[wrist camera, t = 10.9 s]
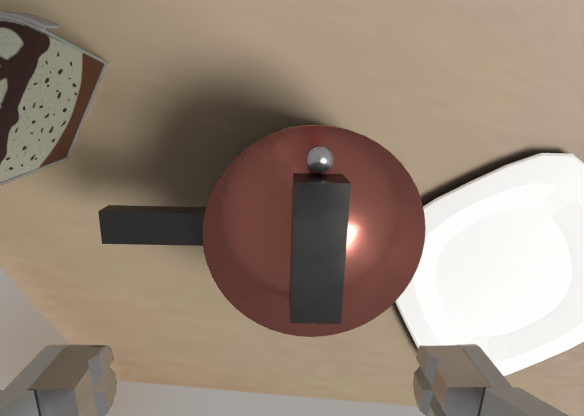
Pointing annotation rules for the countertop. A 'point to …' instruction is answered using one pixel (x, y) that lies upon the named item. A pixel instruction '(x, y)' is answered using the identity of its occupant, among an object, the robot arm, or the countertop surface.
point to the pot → (152, 224)
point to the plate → (504, 264)
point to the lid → (313, 230)
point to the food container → (41, 94)
